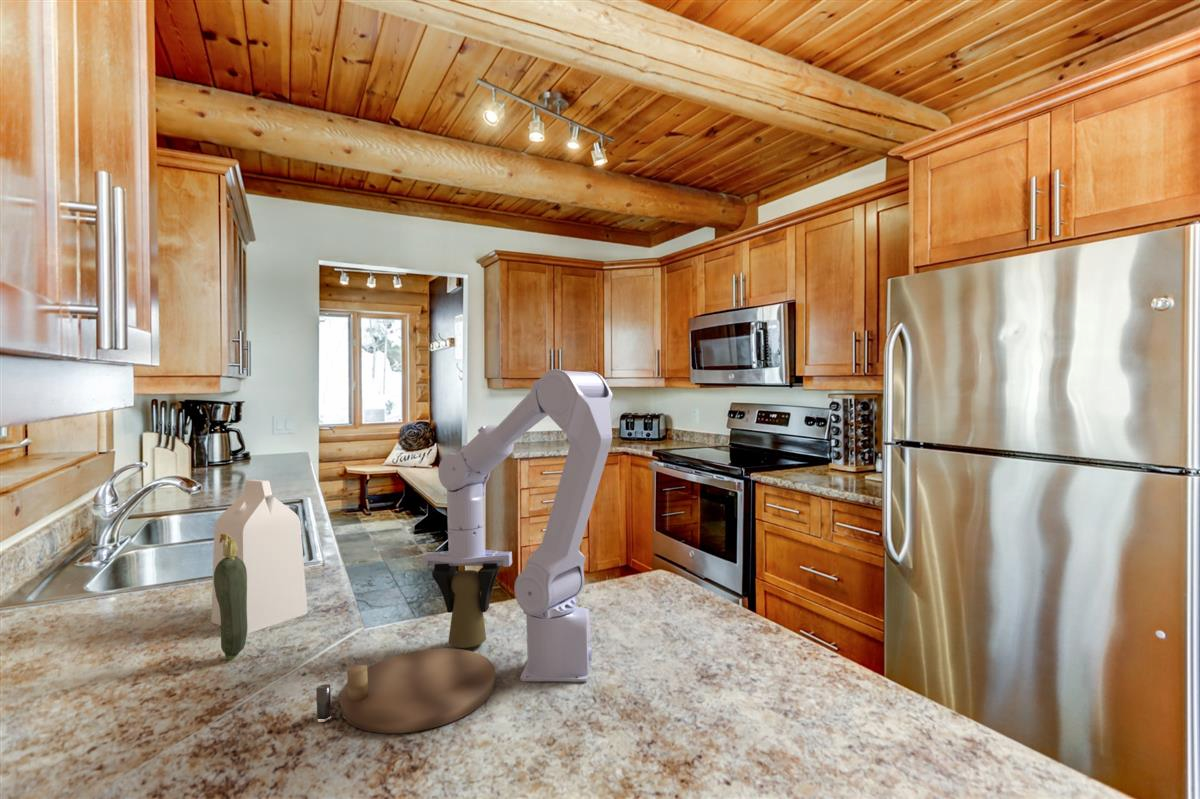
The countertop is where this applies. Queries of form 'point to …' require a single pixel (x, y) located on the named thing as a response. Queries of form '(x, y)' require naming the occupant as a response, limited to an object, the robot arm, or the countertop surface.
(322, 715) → the dark gray cylinder
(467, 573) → the olive pawn piece
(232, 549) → the vegetable
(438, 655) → the disc
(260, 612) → the milk
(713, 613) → the countertop surface
